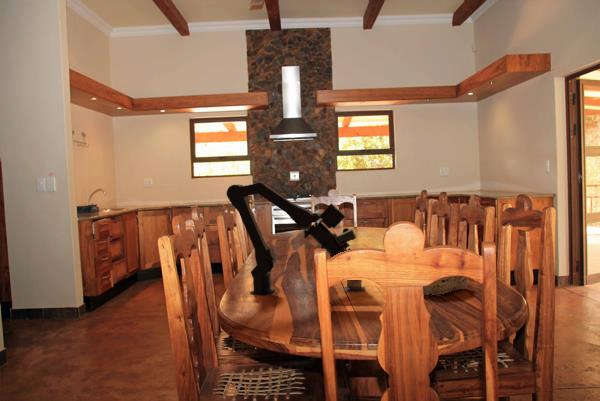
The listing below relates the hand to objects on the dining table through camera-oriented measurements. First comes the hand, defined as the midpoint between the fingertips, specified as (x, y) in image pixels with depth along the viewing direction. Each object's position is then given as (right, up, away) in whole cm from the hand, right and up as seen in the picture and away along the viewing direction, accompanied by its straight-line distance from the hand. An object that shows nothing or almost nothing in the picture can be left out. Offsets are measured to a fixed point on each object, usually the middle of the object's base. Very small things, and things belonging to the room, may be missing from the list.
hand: (358, 270), depth 157 cm
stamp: (-1, -6, 0) cm, 6 cm away
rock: (+27, -7, 0) cm, 28 cm away
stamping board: (-6, -8, +1) cm, 10 cm away
